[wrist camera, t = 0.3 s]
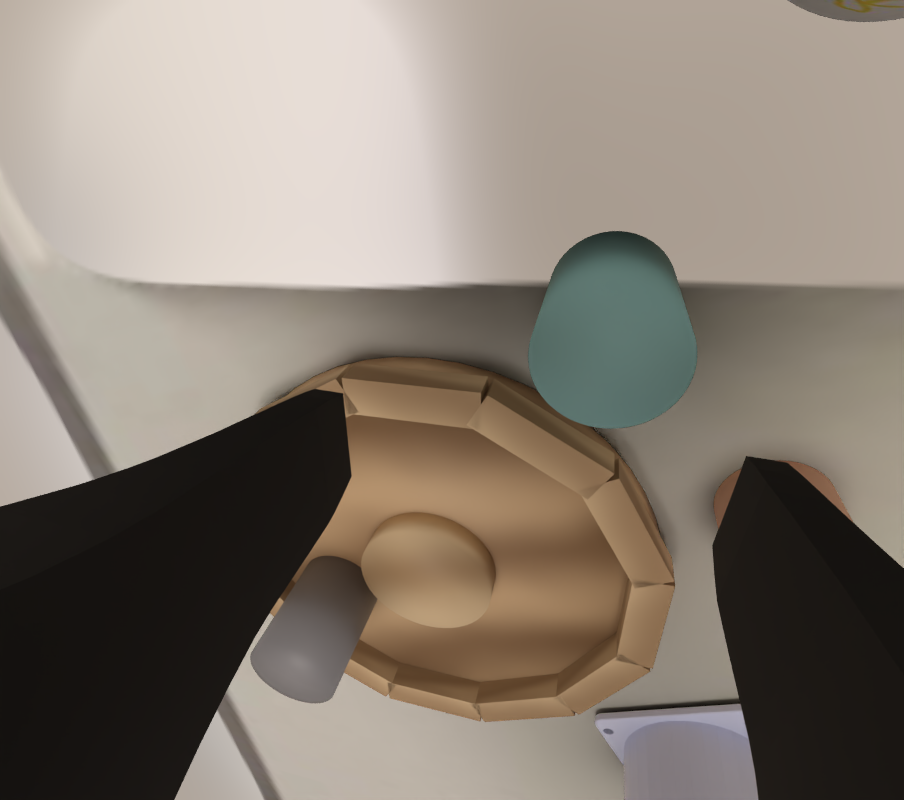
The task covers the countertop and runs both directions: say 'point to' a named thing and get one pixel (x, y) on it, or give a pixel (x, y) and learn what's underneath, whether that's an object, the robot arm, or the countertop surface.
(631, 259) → the bead teal
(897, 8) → the white cylinder
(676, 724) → the robot arm
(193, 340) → the countertop surface
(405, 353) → the countertop surface
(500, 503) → the tray
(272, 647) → the bead charcoal
